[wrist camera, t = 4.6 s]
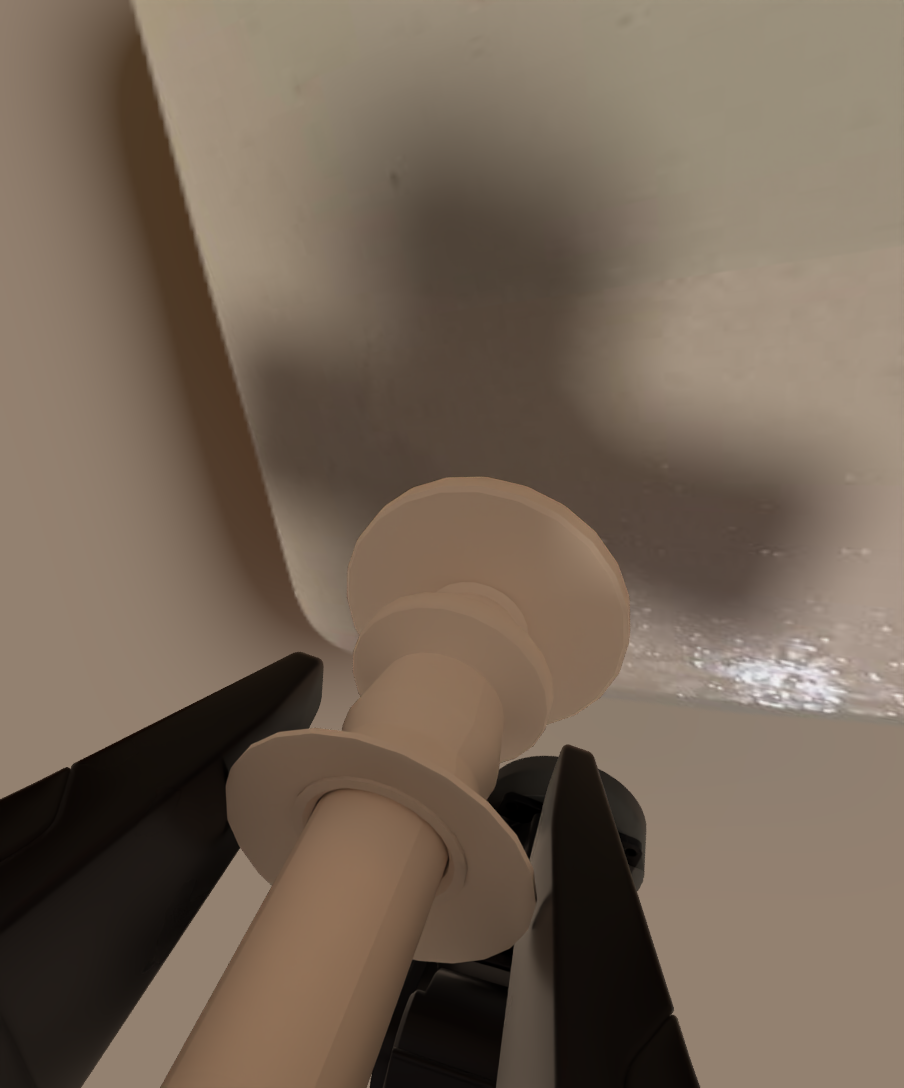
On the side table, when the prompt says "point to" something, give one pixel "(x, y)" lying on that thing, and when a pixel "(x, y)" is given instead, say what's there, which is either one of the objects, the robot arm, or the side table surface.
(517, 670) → the candle
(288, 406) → the side table surface
